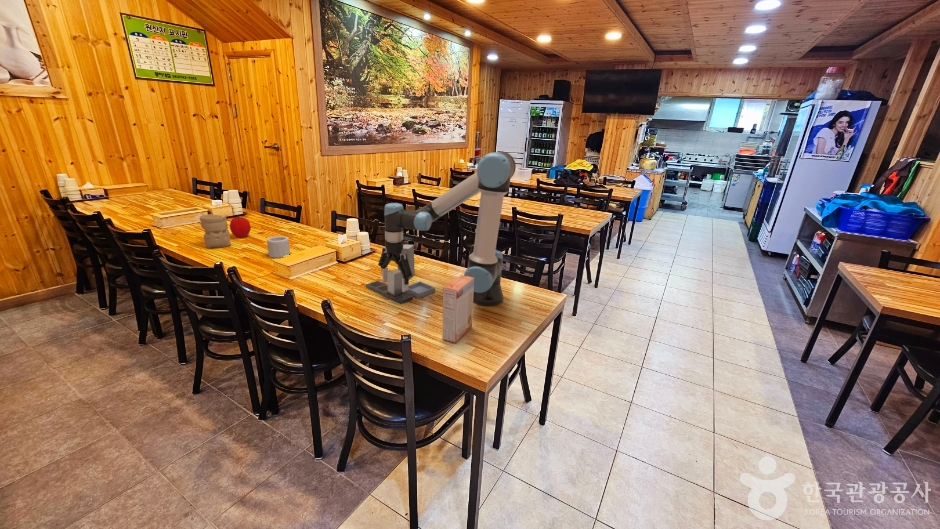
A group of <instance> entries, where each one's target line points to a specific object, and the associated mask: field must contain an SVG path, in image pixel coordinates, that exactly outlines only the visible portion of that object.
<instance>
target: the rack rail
mask: <svg viewBox="0 0 940 529" xmlns="http://www.w3.org/2000/svg"><path fill="white" fill-rule="evenodd" d="M365 288H367V289H369V291H373V292H375V293H377V294H379V295H381V296H383V297H385V298H387V299H388V300H391V301H392V302H395V303H397V304H399V305H403V304H406V303H408V302H410V301H413V300H414V296H412V295H409V294H407V293H405V292H403V294H401V295H398V296H396V297H393V296H391V295H389V294H388V283H386V282H385V283H383V282H382V280H381V281H380V280H375V281H373V282H372V281H371V282H369V283H365Z"/></svg>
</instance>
